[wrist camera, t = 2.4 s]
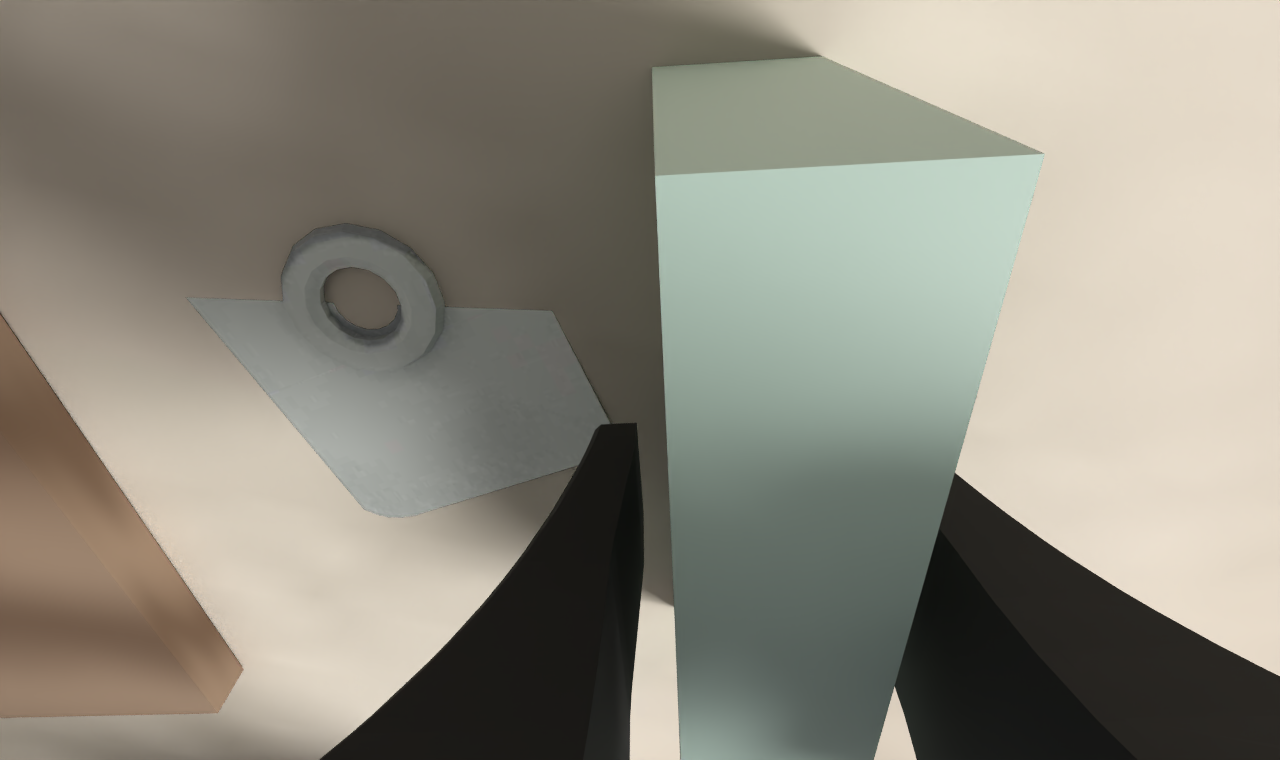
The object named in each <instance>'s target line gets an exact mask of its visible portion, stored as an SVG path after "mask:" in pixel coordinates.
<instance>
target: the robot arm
mask: <svg viewBox="0 0 1280 760" xmlns="http://www.w3.org/2000/svg"><path fill="white" fill-rule="evenodd" d="M643 568H644V528H643V501H642V488H641V475H640V462H639V449H638V436H637V423H624V424H601V425H600V426H599V427H598V428H597V429H596V430H595V431H594V433H593V436H592V438H591V441H590V443H589V445H588V447H587V449H586V452H585V454H584V456H583V458H582V460H581V462H580V463H579V465H578V467H577V469H576V471H575V473H574V475H573V476H572V478H571V480H570V482H569V483H568V485H567V487H566V488H565V490H564V492H563V493H562V495H561V497H560V498H559V500H558V502H557V503H556V505H555V507H554V508H553V510H552V512H551V513H550V515H549V516H548V518H547V519H546V521H545V522H544V524H543V525H542V527H541V528H540V529H539V531H538V532H537V534H536V535H535V537H534V538H533V540H532V541H531V543H530V544H529V545H528V547H527V548H526V550H525V551H524V553H523V554H522V555H521V557H520V558H519V559H518V561H517V562H516V563H515V565H514V566H513V567H512V569H511V570H510V571H509V572H508V574H507V575H506V576H505V578H504V579H503V580H502V581H501V583H500V584H499V585H498V586H497V587H496V589H495V590H494V591H493V592H492V593H491V595H490V596H489V597H488V598H487V599H486V601H485V602H484V603H483V604H482V605H481V606H480V608H479V609H478V610H477V611H476V612H475V613H474V614H473V615H472V616H471V617H470V619H469V620H468V621H467V622H466V623H465V624H464V625H463V626H462V627H461V629H460V630H459V631H458V632H457V633H456V634H455V635H454V636H453V637H452V638H451V640H450V641H449V642H448V643H447V644H446V645H445V646H444V647H443V648H442V649H441V650H440V651H439V652H438V653H437V654H436V655H435V656H434V657H433V658H432V659H431V660H430V661H429V662H428V663H427V664H426V665H425V666H424V667H423V668H422V669H421V670H420V671H419V672H418V673H416V674H415V675H414V676H413V677H412V678H411V679H410V680H409V681H408V682H407V683H406V684H405V685H404V686H403V687H402V688H401V689H399V690H398V691H397V692H396V693H395V694H394V695H393V696H392V697H391V698H390V699H389V700H388V701H387V702H386V703H385V704H384V705H382V706H381V707H380V708H379V709H378V710H377V711H376V712H375V713H374V714H373V715H372V716H371V717H369V718H368V719H367V720H366V721H365V722H364V723H363V724H362V725H360V726H359V727H358V728H357V729H356V730H355V731H353V732H352V733H351V734H350V735H349V736H347V737H346V738H345V739H344V740H343V741H341V742H340V743H339V744H338V745H337V746H335V747H334V748H333V749H332V750H330V751H329V752H328V753H327V754H326V755H324V756H323V757H322V758H321V759H320V760H630V710H631V693H632V682H633V671H634V661H635V651H636V641H637V631H638V621H639V610H640V600H641V589H642V579H643ZM895 688H896V691H897V694H898V697H899V700H900V703H901V706H902V709H903V712H904V715H905V719H906V722H907V726H908V729H909V733H910V737H911V740H912V744H913V747H914V751H915V754H916V758H917V760H1280V676H1278V675H1276V674H1274V673H1272V672H1270V671H1268V670H1266V669H1264V668H1262V667H1260V666H1258V665H1256V664H1254V663H1252V662H1250V661H1248V660H1246V659H1244V658H1242V657H1240V656H1238V655H1236V654H1234V653H1233V652H1231V651H1229V650H1227V649H1225V648H1223V647H1221V646H1219V645H1217V644H1215V643H1213V642H1211V641H1210V640H1208V639H1206V638H1204V637H1202V636H1201V635H1199V634H1197V633H1195V632H1193V631H1192V630H1190V629H1188V628H1186V627H1184V626H1182V625H1181V624H1179V623H1177V622H1175V621H1173V620H1172V619H1170V618H1168V617H1166V616H1164V615H1163V614H1161V613H1159V612H1157V611H1155V610H1154V609H1152V608H1150V607H1148V606H1147V605H1145V604H1143V603H1142V602H1140V601H1138V600H1136V599H1135V598H1133V597H1131V596H1130V595H1128V594H1126V593H1125V592H1123V591H1121V590H1120V589H1118V588H1116V587H1115V586H1113V585H1112V584H1110V583H1108V582H1107V581H1105V580H1104V579H1102V578H1101V577H1099V576H1097V575H1096V574H1094V573H1093V572H1091V571H1089V570H1088V569H1086V568H1085V567H1083V566H1082V565H1080V564H1078V563H1077V562H1075V561H1074V560H1072V559H1071V558H1069V557H1067V556H1066V555H1065V554H1063V553H1062V552H1060V551H1059V550H1057V549H1056V548H1054V547H1053V546H1051V545H1050V544H1048V543H1047V542H1045V541H1044V540H1043V539H1041V538H1040V537H1038V536H1037V535H1036V534H1034V533H1033V532H1031V531H1030V530H1029V529H1027V528H1026V527H1025V526H1023V525H1022V524H1020V523H1019V522H1018V521H1016V520H1015V519H1014V518H1012V517H1011V516H1009V515H1008V514H1007V513H1005V512H1004V511H1003V510H1001V509H1000V508H999V507H997V506H996V505H995V504H994V503H992V502H991V501H990V500H988V499H987V498H986V497H984V496H983V495H982V494H981V493H979V492H978V491H977V490H976V489H974V488H973V487H972V486H971V485H969V484H968V483H967V482H966V481H964V480H963V479H962V478H961V477H959V476H958V475H957V474H956V473H954V477H953V481H952V484H951V488H950V491H949V495H948V498H947V502H946V505H945V509H944V512H943V516H942V519H941V523H940V527H939V530H938V534H937V537H936V541H935V544H934V548H933V551H932V555H931V558H930V562H929V566H928V569H927V573H926V576H925V580H924V583H923V587H922V590H921V594H920V597H919V601H918V604H917V608H916V612H915V615H914V619H913V622H912V626H911V629H910V633H909V636H908V640H907V643H906V647H905V650H904V654H903V658H902V661H901V665H900V668H899V672H898V675H897V679H896V682H895Z"/></svg>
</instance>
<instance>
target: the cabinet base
mask: <svg viewBox="0 0 1280 760" xmlns="http://www.w3.org/2000/svg"><path fill="white" fill-rule="evenodd" d="M242 671H243V668H242V666H241V665H240V663H239V662H238V660H237V659H236V658H235V656H234V655H233V653H232V652H231V650H230V649H229V647H228V646H227V644H226V643H225V642H224V640H223V639H222V637H221V636H220V634H219V633H218V631H217V630H216V628H215V627H214V625H213V624H212V623H211V621H210V620H209V618H208V617H207V615H206V614H205V612H204V611H203V609H202V608H201V606H200V605H199V604H198V602H197V601H196V599H195V598H194V596H193V595H192V593H191V592H190V590H189V589H188V587H187V586H186V585H185V583H184V582H183V580H182V579H181V577H180V576H179V574H178V573H177V571H176V570H175V569H174V567H173V566H172V564H171V563H170V561H169V560H168V558H167V557H166V555H165V554H164V552H163V551H162V550H161V548H160V547H159V545H158V544H157V542H156V541H155V539H154V538H153V536H152V535H151V533H150V532H149V531H148V529H147V528H146V526H145V525H144V523H143V522H142V520H141V519H140V517H139V516H138V515H137V513H136V512H135V510H134V509H133V507H132V506H131V504H130V503H129V501H128V500H127V498H126V497H125V496H124V494H123V493H122V491H121V490H120V488H119V487H118V485H117V484H116V482H115V481H114V479H113V478H112V477H111V475H110V474H109V472H108V471H107V469H106V468H105V466H104V465H103V463H102V462H101V461H100V459H99V458H98V456H97V455H96V453H95V452H94V450H93V449H92V447H91V446H90V444H89V443H88V442H87V440H86V439H85V437H84V436H83V434H82V433H81V431H80V430H79V428H78V427H77V425H76V424H75V423H74V421H73V420H72V418H71V417H70V415H69V414H68V412H67V411H66V409H65V408H64V407H63V405H62V404H61V402H60V401H59V399H58V398H57V396H56V395H55V393H54V392H53V390H52V389H51V388H50V386H49V385H48V383H47V382H46V380H45V379H44V377H43V376H42V374H41V373H40V371H39V370H38V369H37V367H36V366H35V364H34V363H33V361H32V360H31V358H30V357H29V355H28V354H27V353H26V351H25V350H24V348H23V347H22V345H21V344H20V342H19V341H18V339H17V338H16V336H15V335H14V334H13V332H12V331H11V329H10V328H9V326H8V325H7V323H6V322H5V320H4V319H3V317H2V316H1V315H0V718H10V717H57V716H104V715H152V714H199V713H218V712H219V710H220V709H221V707H222V705H223V703H224V702H225V700H226V698H227V697H228V695H229V693H230V692H231V690H232V688H233V686H234V685H235V683H236V681H237V680H238V678H239V676H240V675H241V673H242Z"/></svg>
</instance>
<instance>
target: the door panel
mask: <svg viewBox="0 0 1280 760" xmlns="http://www.w3.org/2000/svg"><path fill="white" fill-rule="evenodd" d="M652 90H653V125H654V160H655V188H656V210H657V232H658V255H659V277H660V300H661V322H662V344H663V367H664V389H665V412H666V434H667V456H668V479H669V501H670V523H671V546H672V568H673V591H674V613H675V638H676V663H677V688H678V713H679V738H680V760H874V757H875V753H876V750H877V746H878V742H879V739H880V735H881V732H882V728H883V725H884V721H885V718H886V714H887V711H888V707H889V704H890V700H891V696H892V693H893V689H894V686H895V682H896V679H897V675H898V672H899V668H900V665H901V661H902V658H903V654H904V650H905V647H906V643H907V640H908V636H909V633H910V629H911V626H912V622H913V619H914V615H915V612H916V608H917V604H918V601H919V597H920V594H921V590H922V587H923V583H924V580H925V576H926V573H927V569H928V566H929V562H930V558H931V555H932V551H933V548H934V544H935V541H936V537H937V534H938V530H939V527H940V523H941V519H942V516H943V512H944V509H945V505H946V502H947V498H948V495H949V491H950V488H951V484H952V481H953V477H954V473H955V470H956V466H957V463H958V459H959V456H960V452H961V449H962V445H963V442H964V438H965V435H966V431H967V427H968V424H969V420H970V417H971V413H972V410H973V406H974V403H975V399H976V396H977V392H978V389H979V385H980V381H981V378H982V374H983V371H984V367H985V364H986V360H987V357H988V353H989V350H990V346H991V343H992V339H993V335H994V332H995V328H996V325H997V321H998V318H999V314H1000V311H1001V307H1002V304H1003V300H1004V297H1005V293H1006V289H1007V286H1008V282H1009V279H1010V275H1011V272H1012V268H1013V265H1014V261H1015V258H1016V254H1017V251H1018V247H1019V243H1020V240H1021V236H1022V233H1023V229H1024V226H1025V222H1026V219H1027V215H1028V212H1029V208H1030V205H1031V201H1032V197H1033V194H1034V190H1035V187H1036V183H1037V180H1038V176H1039V173H1040V169H1041V166H1042V162H1043V159H1044V155H1045V154H1044V153H1042V152H1039V151H1037V150H1035V149H1032V148H1030V147H1028V146H1026V145H1023V144H1021V143H1019V142H1017V141H1014V140H1012V139H1010V138H1007V137H1005V136H1003V135H1001V134H998V133H996V132H994V131H991V130H989V129H987V128H985V127H982V126H980V125H978V124H975V123H973V122H971V121H969V120H966V119H964V118H962V117H959V116H957V115H955V114H953V113H950V112H948V111H946V110H943V109H941V108H939V107H937V106H934V105H932V104H930V103H927V102H925V101H923V100H921V99H918V98H916V97H914V96H911V95H909V94H907V93H905V92H902V91H900V90H898V89H896V88H893V87H891V86H889V85H886V84H884V83H882V82H880V81H877V80H875V79H873V78H870V77H868V76H866V75H864V74H861V73H859V72H857V71H854V70H852V69H850V68H848V67H845V66H843V65H841V64H838V63H836V62H834V61H832V60H829V59H827V58H825V57H822V56H817V57H801V58H786V59H770V60H754V61H739V62H723V63H707V64H692V65H676V66H660V67H652Z"/></svg>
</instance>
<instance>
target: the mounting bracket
mask: <svg viewBox="0 0 1280 760" xmlns="http://www.w3.org/2000/svg"><path fill="white" fill-rule="evenodd" d="M348 267H355V268H360V269H365V270H369V271H371V272H373V273H374V274H376V275H378V276H380V277H381V278H383V279H384V280H385V281H386V282H387V283H388V284H389V285H390V286H391V287H392V288H393V290H394V291H395V292H396V294H397V297H398V299H399V302H400V304H401V305H397V307H398V311H397V314H396V316H395V319H394V320H393V321H392V322H391V323H390V324H389V325H388V326H385V327H383V328H380V329H365V328H361V327H358V326H355V325H354V324H352V323H350V322H349V321H347V320H346V319H345V318H344V317H343V316H342V315H341V314H340V313H339V312H338V311H337V309H336V307H335V305H334V303H327V302H325V299H324V284H325V281H326V279H327V277H328V275H330V274H331V273H332V272H334V271H335V270H337V269H342V268H348ZM281 283H282V294H283V301H272V300H245V299H218V298H190V297H186V298H187V299H188V301H189V302H190V303H191V304H192V305H193V307H194V308H195V309H196V310H197V311H198V313H199V314H200V315H201V316H202V317H203V319H204V320H205V321H206V322H207V323H208V324H209V326H210V327H211V328H212V329H213V330H214V332H215V333H216V334H217V335H218V336H219V338H220V339H221V340H222V341H223V342H224V343H225V345H226V346H227V347H228V348H229V349H230V351H231V352H232V353H233V354H234V355H235V357H236V358H237V359H238V360H239V361H240V363H241V364H242V365H243V366H244V367H245V368H246V370H247V371H248V372H249V373H250V374H251V376H252V377H253V378H254V379H255V380H256V382H257V383H258V384H259V385H260V386H261V387H262V389H263V390H264V391H265V392H266V393H267V395H268V396H269V397H270V398H271V399H272V401H273V402H274V403H275V404H276V405H277V407H278V408H279V409H280V410H281V411H282V412H283V414H284V415H285V416H286V417H287V418H288V420H289V421H290V422H291V423H292V424H293V426H294V427H295V428H296V429H297V430H298V432H299V433H300V434H301V435H302V436H303V437H304V439H305V440H306V441H307V442H308V443H309V445H310V446H311V447H312V448H313V449H314V451H315V452H316V453H317V454H318V455H319V456H320V458H321V459H322V460H323V461H324V462H325V464H326V465H327V466H328V467H329V468H330V470H331V471H332V472H333V473H334V474H335V476H336V477H337V478H338V479H339V480H340V481H341V483H342V484H343V485H344V486H345V487H346V489H347V490H348V491H349V492H350V493H351V495H352V496H353V497H354V498H355V499H356V500H357V502H358V503H359V504H360V505H361V506H362V508H363V509H364V510H367V511H369V512H372V513H374V514H377V515H380V516H385V517H398V518H403V517H409V516H415V515H418V514H422V513H425V512H428V511H431V510H435V509H438V508H441V507H444V506H448V505H451V504H454V503H457V502H461V501H464V500H467V499H470V498H474V497H477V496H480V495H484V494H487V493H490V492H493V491H497V490H500V489H503V488H506V487H510V486H513V485H516V484H519V483H523V482H526V481H529V480H532V479H536V478H539V477H542V476H545V475H549V474H552V473H555V472H558V471H562V470H565V469H568V468H571V467H575V466H578V465H579V463H580V462H581V460H582V458H583V456H584V454H585V452H586V449H587V447H588V445H589V443H590V441H591V438H592V436H593V433H594V431H595V430H596V429H597V428H598V427H599V426H600V425H601V424H611V423H610V421H609V419H608V417H607V415H606V413H605V411H604V409H603V407H602V405H601V403H600V401H599V400H598V398H597V396H596V394H595V392H594V390H593V388H592V386H591V384H590V382H589V380H588V378H587V377H586V375H585V373H584V371H583V369H582V367H581V365H580V363H579V361H578V359H577V357H576V356H575V354H574V352H573V350H572V348H571V346H570V344H569V342H568V340H567V338H566V336H565V334H564V333H563V331H562V329H561V327H560V325H559V323H558V321H557V319H556V317H555V315H554V313H553V311H547V310H519V309H492V308H464V307H445V302H444V299H443V296H442V294H441V291H440V289H439V286H438V284H437V281H436V279H435V276H434V274H433V272H432V271H431V270H430V269H429V268H428V267H427V266H426V265H425V263H424V262H423V261H422V260H421V259H420V258H419V257H418V256H417V254H416V253H415V252H414V251H413V250H412V249H411V248H410V247H408V246H406V245H405V244H403V243H401V242H400V241H398V240H396V239H394V238H393V237H391V236H389V235H388V234H386V233H384V232H382V231H381V230H377V229H372V228H367V227H362V226H357V225H352V224H348V223H344V224H339V225H333V226H328V227H323V228H317V229H314V230H313V231H312V232H310V233H309V234H308V235H306V236H305V237H304V238H303V239H301V240H300V241H299V242H297V243H296V244H295V245H293V247H292V249H291V252H290V254H289V257H288V259H287V262H286V264H285V266H284V269H283V272H282V275H281Z"/></svg>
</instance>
